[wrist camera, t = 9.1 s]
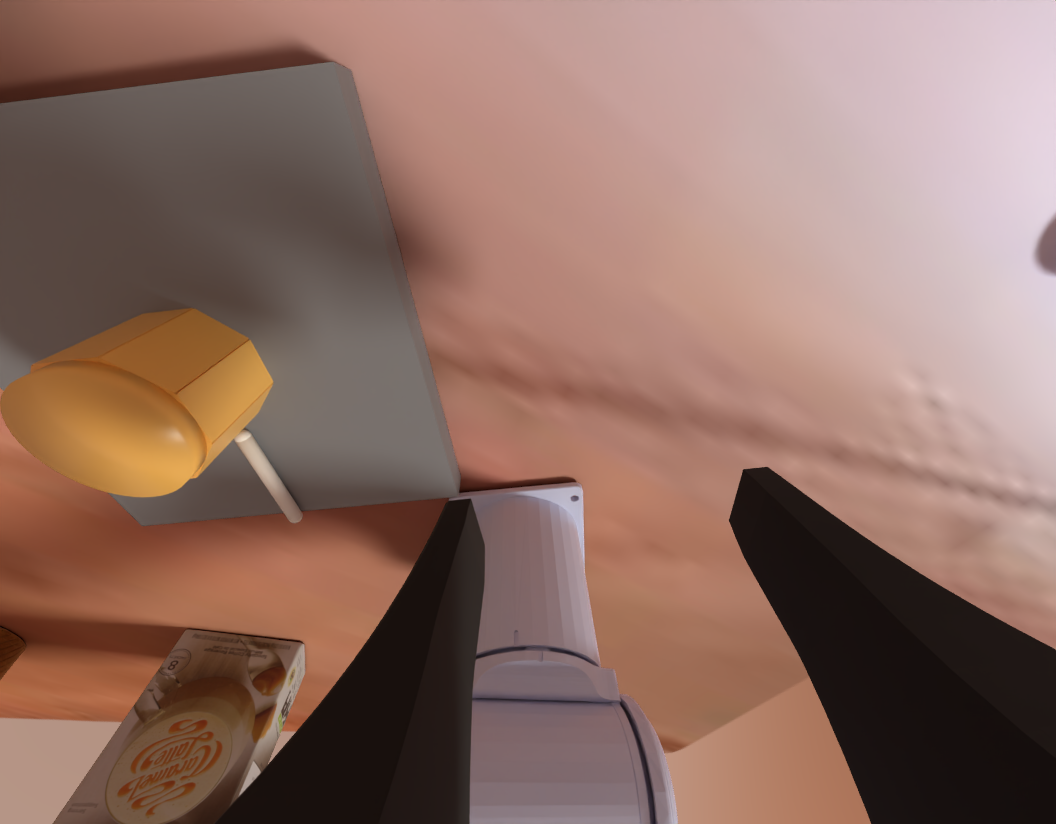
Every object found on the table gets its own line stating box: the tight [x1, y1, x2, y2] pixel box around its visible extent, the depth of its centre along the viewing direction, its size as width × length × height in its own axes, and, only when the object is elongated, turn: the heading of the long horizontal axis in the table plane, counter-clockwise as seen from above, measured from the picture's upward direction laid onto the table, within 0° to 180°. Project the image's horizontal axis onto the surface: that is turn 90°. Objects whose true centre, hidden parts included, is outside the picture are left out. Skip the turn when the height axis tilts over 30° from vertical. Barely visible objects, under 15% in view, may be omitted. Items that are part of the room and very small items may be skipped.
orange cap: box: [0, 308, 273, 497], centre depth 14 cm, size 5×5×5 cm
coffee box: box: [53, 629, 305, 824], centre depth 27 cm, size 9×6×16 cm
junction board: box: [0, 62, 461, 526], centre depth 17 cm, size 18×18×2 cm
